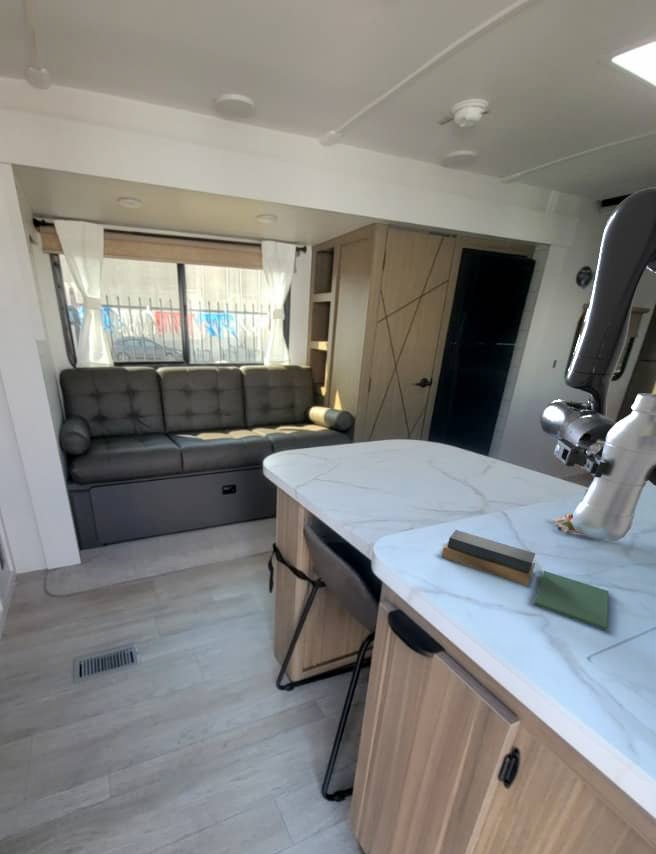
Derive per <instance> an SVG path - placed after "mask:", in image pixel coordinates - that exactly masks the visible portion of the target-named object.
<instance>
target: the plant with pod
mask: <svg viewBox="0 0 656 854" xmlns="http://www.w3.org/2000/svg"><path fill="white" fill-rule="evenodd" d="M589 487H590V485H589V486H588V488H587V489H586V490H585V493H584V494H583V497H584V496H585V495H586V493H587V491H588V489H589ZM572 519H573V513H572V514H571V513H566V514H564V517H557V518H553V519H551V521H553V522H554V524H555V526H556V527H557V530H558V531H561V532H563V533H567V534H570V535H579V536H584V537H586V538H587V537H588V536H585V535H583V534H581V533H579V532H578V531H576V530H575V529H574V526H573V524H572Z"/></svg>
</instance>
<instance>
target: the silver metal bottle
mask: <svg viewBox="0 0 656 854" xmlns="http://www.w3.org/2000/svg"><path fill="white" fill-rule="evenodd" d="M630 408H631V409H632V411H631V413H629V414H628V415H627V416H625V417H624V418H622V419H620V420H619V421H617V422H616V423H617V424H615V425H614V426H613V427H612V428H611V429H610V430H609V432H608V433H607V436H606V441H605V444H604V448H603V453H602V457H601V458H602V459H603V460H604V461H605V462H606V467H605V469H604V472H603V474H602V476H601V477H600V478H598V477H593V479H592V481H591V483H590V484H589V486H590V487H589V486H588V488H589V489H588V488H587V489H588V491H587V493H586V492H585V493H586V495H585V494H584V495H585V496H584V495H583V499H581V500H580V502H579V503H578V504H577V506H576V508H575V509H574V511H573V513H572V515H573V519H572V524H573V526H574V529H575V530H576V531H578V532H579V533H581V534H583V536H584V535H585V536H584V537H586V536H587V537H588V538H590V539H594V540H597V541H602V542H603V541H604V542H617V541H619V540H620V539H623V538H624V537H625V536H626V535H627V534H628V533H629V531H630V530H631V529H632V526H633V522H634V519H635V512H636V509H637V506H638V504H639V501H640V499H641V495H642V493H643V490H644V489H645V487H646V485H647V482H649V478H650V476H651V474H652V473H653V471H654V469H655V468H656V393H645V392H644V393H637V395H636V397H635V399H634V402H633V404H631V406H630ZM581 534H580V535H581Z"/></svg>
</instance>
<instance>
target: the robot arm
mask: <svg viewBox="0 0 656 854" xmlns="http://www.w3.org/2000/svg"><path fill="white" fill-rule="evenodd" d="M646 268H647V269H649V270H650V271H651V272H652V273H654V274H655V275H656V187H655V186H654V187H647V188H643V189H640V190H638V191H635V192H633V193H632V194H629V196H627V197H625V198H624V199H623V200H622V201H621V202H619V204H618V205H617V206H616V207H615V208H614V209H613V211H612V213H611V214H610V215H609V217H608V219H607V221H606V223H605V225H604V229H603V232H602V237H601V242H600V248H599V252H598V260H597V265H596V270H595V271H596V272H595V276H594V281H593V285H592V289H591V293H590V298H589V302H588V307H587V310H586V315H585V318H584V321H583V325H582V328H581V331H580V334H579V337H578V340H577V343H576V346H575V349H574V352H573V355H572V358H571V360H570V364H569V366H568V369H567V372H566V375H565V378H564V383H565V386H566V387H568V388H570V389H572V390H573V389H574V390H577V391H580V392H583V393H587V394H588V400H587V401H578V400H566V399H558V400H554V401H552V402H550V403H548V404H547V405H546V406H545V407H544V409H543V410H542V412H541V414H540V417H539V426H540V430H541V431H542V433H543V435H545V436H546V437H548V438H550V439H552V440H554V441H556V445H555V448H554V451H553V454H552V455H553V456H554V457H555V458H557V460H559V461H560V462H561V464H563V465H564V466H567V467H575V465H579V468H580V469H581V470H583V471H586V472H587V473H589V474H590V475H591V476H592V477H593V478H594V477H598V478H600V477H601V476H602V474H603V472H604V469H605V467H606V462H605V461H604V460H603V459H602V458H601V457H602V453H603V448H604V444H605V441H606V436H607V433H608V432H609V430H610V429H611V428H612V427H613V426H614V425H615V424H617V423H618V422H616V421H615V420H614V419H612V418H610V417H608V399H609V394H610V393H609V392H610V387H611V383H612V380H613V377H614V375H615V372H616V369H617V366H618V365H619V362H620V360H621V357H622V354H623V351H624V348H625V345H626V342H627V339H628V334H629V330H630V322H631V314H632V310H633V304H634V303H633V302H634V299H635V296H636V292H637V289H638V287H639V284H640V281H641V279H642V276H643V275H644V272H645V270H646ZM648 482H650V483H651V484H652V485H653V486H656V468H655V469H654V471H653V473H652V474H651V476H650V478H649V480H648Z"/></svg>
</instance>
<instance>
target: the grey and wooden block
mask: <svg viewBox="0 0 656 854" xmlns="http://www.w3.org/2000/svg"><path fill="white" fill-rule="evenodd" d="M535 556H536V552H532V551H529V550H525V549H521V548H519V547H516V546H512V545H508V544H505V543H502V542H499V541H495V540H493V539H489V538H485V537H482V536H478V535H475V534H472V533H468V532H465V531H462V530H458V529H455V530H454V532H452V534H451V535H450V536H449V538H448V540H447V542H446V544H445V545H444V546H443V548H442V553H441V555H440V557H441V558H444V559H447V560H450V561H453V562H455V563H459V564H462V565H464V566H468V567H470V568H474V569H476V570H479V571H482V572H485V573H488V574H492V575H494V576H497V577H499V578H503V579H506V580H509V581H512V582H515V583H518V584H520V585H524V586H527V587H528V586H529V584H530V582H531V581H530V580H531V578H532V575H533V572H534V569H535V566H536V562H534V559H535Z"/></svg>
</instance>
